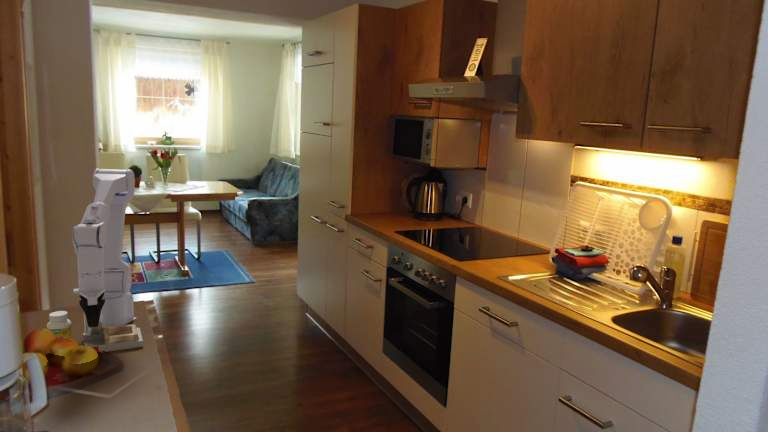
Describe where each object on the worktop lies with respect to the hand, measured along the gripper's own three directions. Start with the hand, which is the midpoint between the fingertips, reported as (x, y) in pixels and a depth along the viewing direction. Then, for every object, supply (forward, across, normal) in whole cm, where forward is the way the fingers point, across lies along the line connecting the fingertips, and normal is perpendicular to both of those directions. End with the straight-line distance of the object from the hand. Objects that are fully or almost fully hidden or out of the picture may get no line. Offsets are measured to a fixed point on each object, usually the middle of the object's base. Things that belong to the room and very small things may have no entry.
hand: (93, 323), depth 141 cm
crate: (+6, 0, +6) cm, 8 cm away
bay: (+7, 0, +4) cm, 8 cm away
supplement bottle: (+7, -2, -8) cm, 10 cm away
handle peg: (+2, 0, 0) cm, 2 cm away
